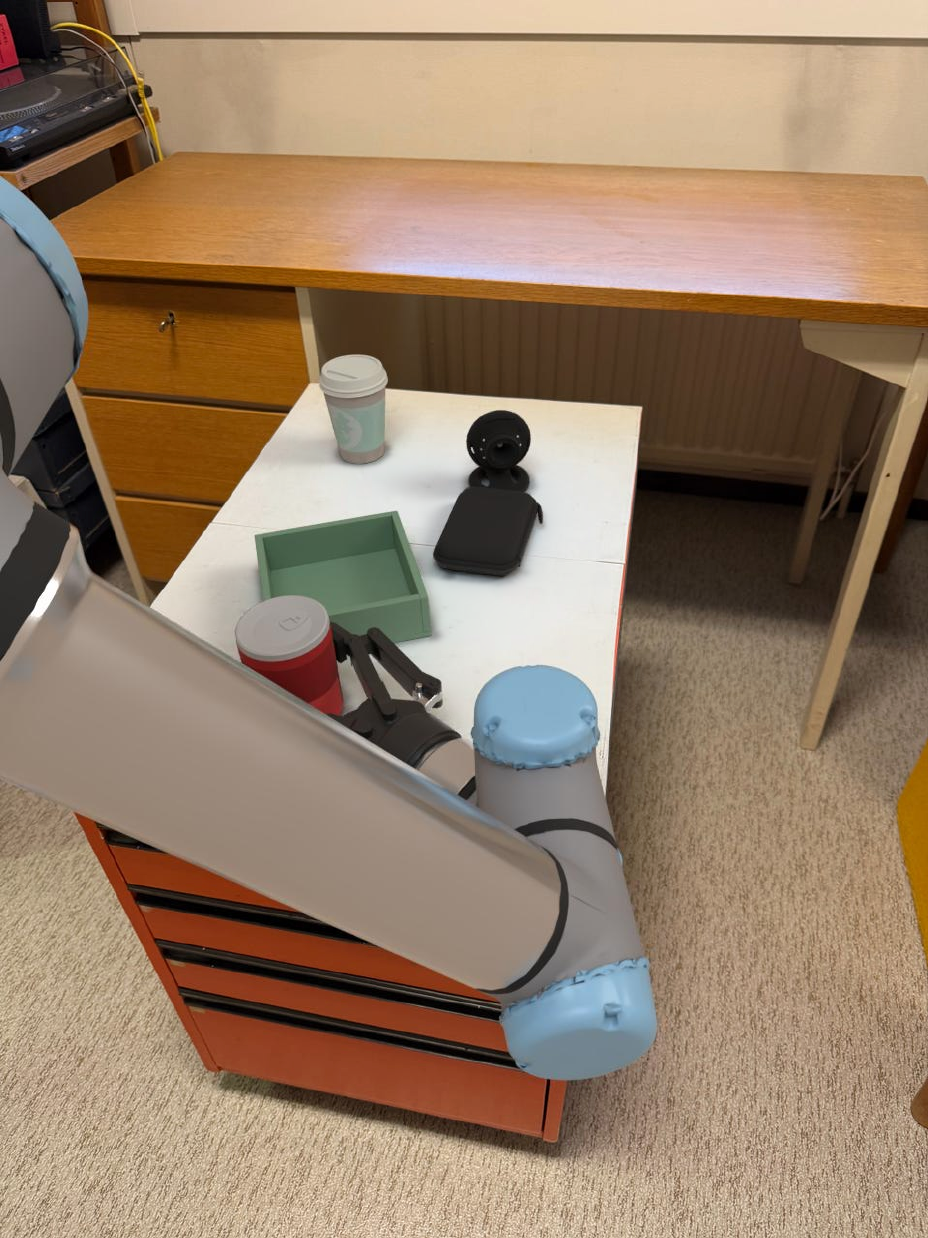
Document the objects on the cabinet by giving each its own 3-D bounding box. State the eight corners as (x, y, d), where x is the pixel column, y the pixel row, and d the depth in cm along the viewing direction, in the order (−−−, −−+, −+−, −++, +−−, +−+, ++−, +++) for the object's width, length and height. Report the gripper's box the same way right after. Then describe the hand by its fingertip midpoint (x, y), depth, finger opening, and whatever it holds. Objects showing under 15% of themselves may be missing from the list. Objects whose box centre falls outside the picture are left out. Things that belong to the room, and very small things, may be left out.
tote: (275, 666, 86) (266, 627, 83) (263, 572, 97) (254, 534, 94) (431, 635, 89) (428, 596, 85) (401, 547, 100) (397, 509, 97)
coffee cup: (321, 446, 118) (308, 361, 110) (381, 430, 120) (372, 346, 113) (342, 476, 112) (329, 388, 104) (404, 459, 115) (396, 373, 107)
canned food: (361, 701, 82) (347, 611, 74) (305, 759, 77) (284, 668, 70) (298, 672, 85) (278, 583, 78) (240, 725, 80) (214, 635, 73)
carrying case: (525, 586, 94) (549, 509, 105) (526, 563, 92) (550, 488, 103) (429, 574, 96) (462, 500, 107) (427, 551, 94) (461, 478, 105)
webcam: (472, 505, 106) (470, 430, 99) (463, 472, 112) (460, 400, 105) (536, 497, 107) (537, 423, 100) (523, 466, 112) (524, 393, 106)
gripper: (335, 893, 64) (168, 734, 76) (524, 733, 75) (351, 617, 87) (321, 831, 59) (145, 672, 72) (525, 670, 70) (342, 556, 83)
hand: (259, 642), depth 79 cm, fingers closed on canned food, 8 cm apart
